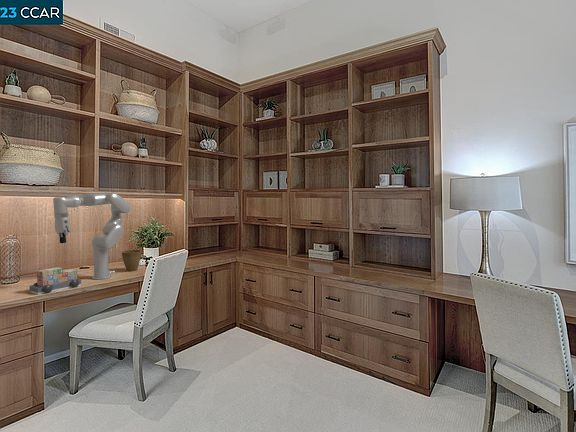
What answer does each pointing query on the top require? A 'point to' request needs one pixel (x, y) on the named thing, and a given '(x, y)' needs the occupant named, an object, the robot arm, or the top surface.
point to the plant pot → (131, 259)
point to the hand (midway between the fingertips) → (63, 242)
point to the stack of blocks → (55, 276)
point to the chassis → (54, 287)
